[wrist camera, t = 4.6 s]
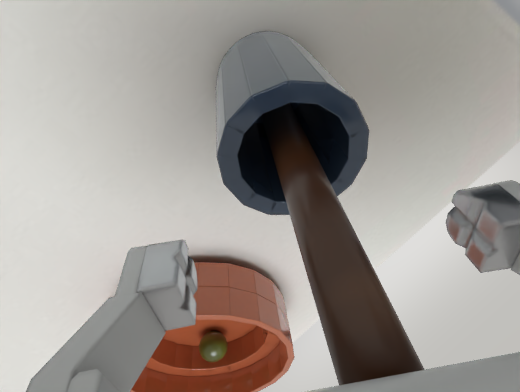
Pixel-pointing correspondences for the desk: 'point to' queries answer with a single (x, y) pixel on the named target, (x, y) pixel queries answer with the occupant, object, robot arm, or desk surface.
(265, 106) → the crock
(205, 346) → the bead
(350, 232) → the stick
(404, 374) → the robot arm
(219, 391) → the bowl
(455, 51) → the desk surface
